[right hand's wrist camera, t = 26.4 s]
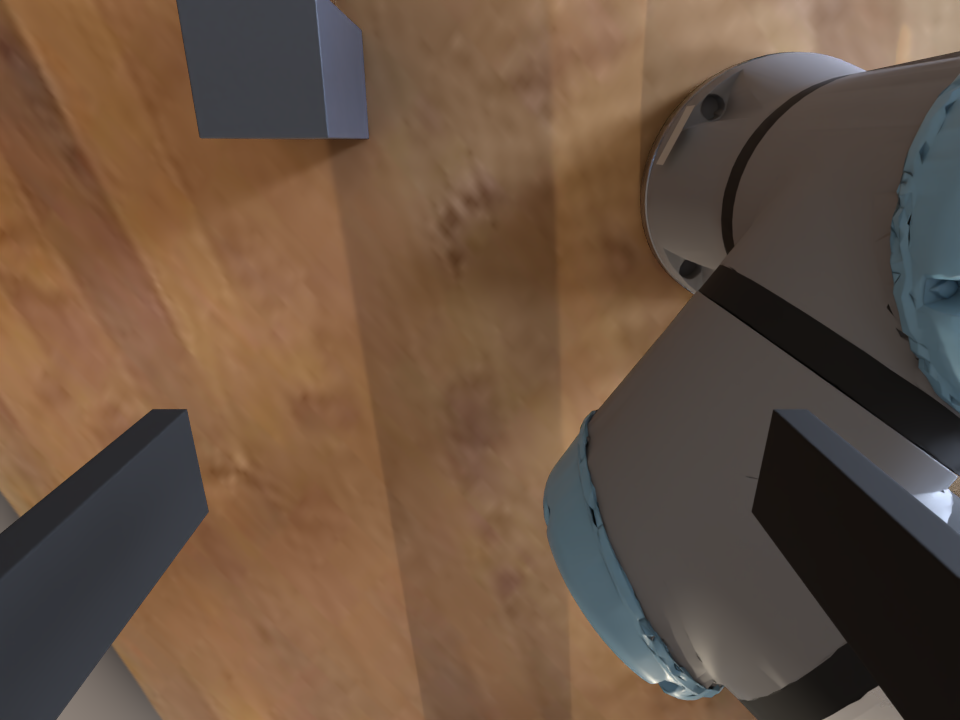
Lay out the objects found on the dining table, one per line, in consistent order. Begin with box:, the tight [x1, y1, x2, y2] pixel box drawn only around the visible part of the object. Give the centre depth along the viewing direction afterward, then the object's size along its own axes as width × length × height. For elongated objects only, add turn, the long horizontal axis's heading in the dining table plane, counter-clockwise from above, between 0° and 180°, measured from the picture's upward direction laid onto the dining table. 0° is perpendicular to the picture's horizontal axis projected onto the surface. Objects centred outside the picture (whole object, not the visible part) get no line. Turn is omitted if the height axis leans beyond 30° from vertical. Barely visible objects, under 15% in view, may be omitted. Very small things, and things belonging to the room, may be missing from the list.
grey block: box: [176, 0, 369, 139], centre depth 29 cm, size 6×6×10 cm
